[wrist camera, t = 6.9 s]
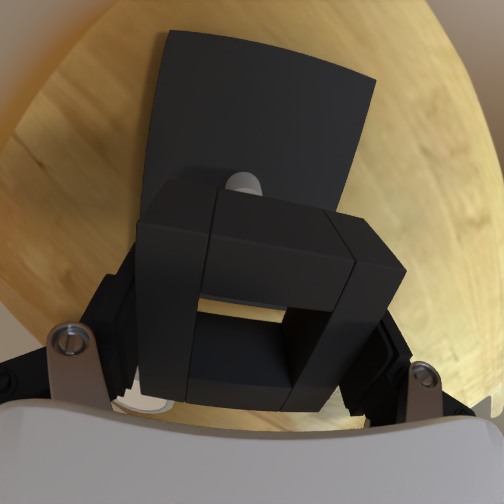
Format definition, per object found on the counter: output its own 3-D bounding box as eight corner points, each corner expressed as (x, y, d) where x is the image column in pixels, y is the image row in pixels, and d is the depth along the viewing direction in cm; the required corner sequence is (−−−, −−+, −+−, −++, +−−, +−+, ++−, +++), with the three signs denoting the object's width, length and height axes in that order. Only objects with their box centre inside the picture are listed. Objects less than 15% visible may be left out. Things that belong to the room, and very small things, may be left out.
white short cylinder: (192, 358, 31) (186, 413, 25) (137, 364, 31) (125, 415, 25) (167, 312, 27) (153, 371, 21) (108, 322, 28) (87, 375, 22)
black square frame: (167, 178, 9) (135, 221, 6) (364, 218, 10) (407, 270, 7) (155, 331, 13) (140, 395, 10) (305, 351, 14) (318, 412, 11)
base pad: (172, 32, 16) (155, 18, 12) (369, 80, 18) (401, 80, 14) (140, 278, 25) (126, 314, 21) (294, 303, 27) (303, 340, 23)
